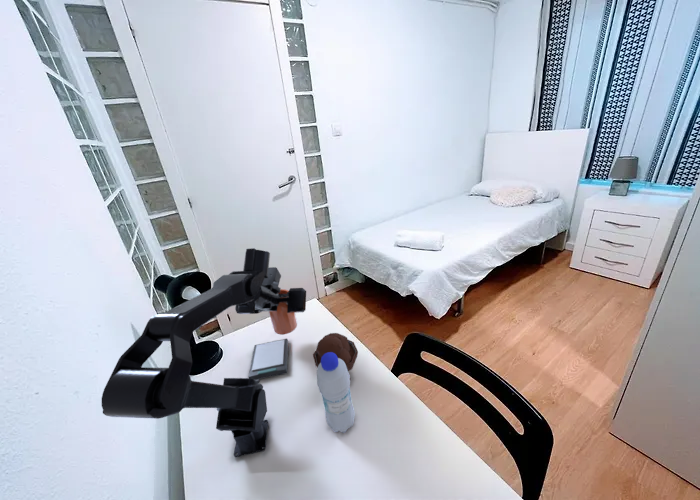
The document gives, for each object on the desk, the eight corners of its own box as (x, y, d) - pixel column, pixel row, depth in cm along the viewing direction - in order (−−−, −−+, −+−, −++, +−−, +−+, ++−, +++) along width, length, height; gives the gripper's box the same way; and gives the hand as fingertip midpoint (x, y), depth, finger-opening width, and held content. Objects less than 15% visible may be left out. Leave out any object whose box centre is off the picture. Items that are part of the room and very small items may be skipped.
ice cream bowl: (361, 397, 67) (355, 351, 60) (316, 400, 68) (305, 354, 61) (361, 362, 76) (355, 319, 70) (321, 364, 77) (312, 322, 71)
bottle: (330, 441, 58) (314, 374, 50) (324, 413, 64) (309, 348, 56) (360, 431, 60) (350, 364, 51) (351, 403, 66) (341, 339, 57)
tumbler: (297, 332, 81) (289, 300, 76) (272, 336, 80) (263, 305, 75) (297, 317, 87) (290, 287, 82) (274, 321, 86) (266, 291, 82)
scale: (286, 373, 76) (285, 367, 75) (249, 381, 75) (247, 375, 74) (288, 342, 87) (287, 337, 86) (255, 348, 86) (254, 344, 85)
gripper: (297, 262, 69) (314, 277, 83) (227, 266, 71) (255, 280, 86) (294, 307, 65) (312, 315, 80) (221, 310, 68) (251, 317, 82)
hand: (282, 305), depth 82 cm, fingers closed on tumbler, 7 cm apart
